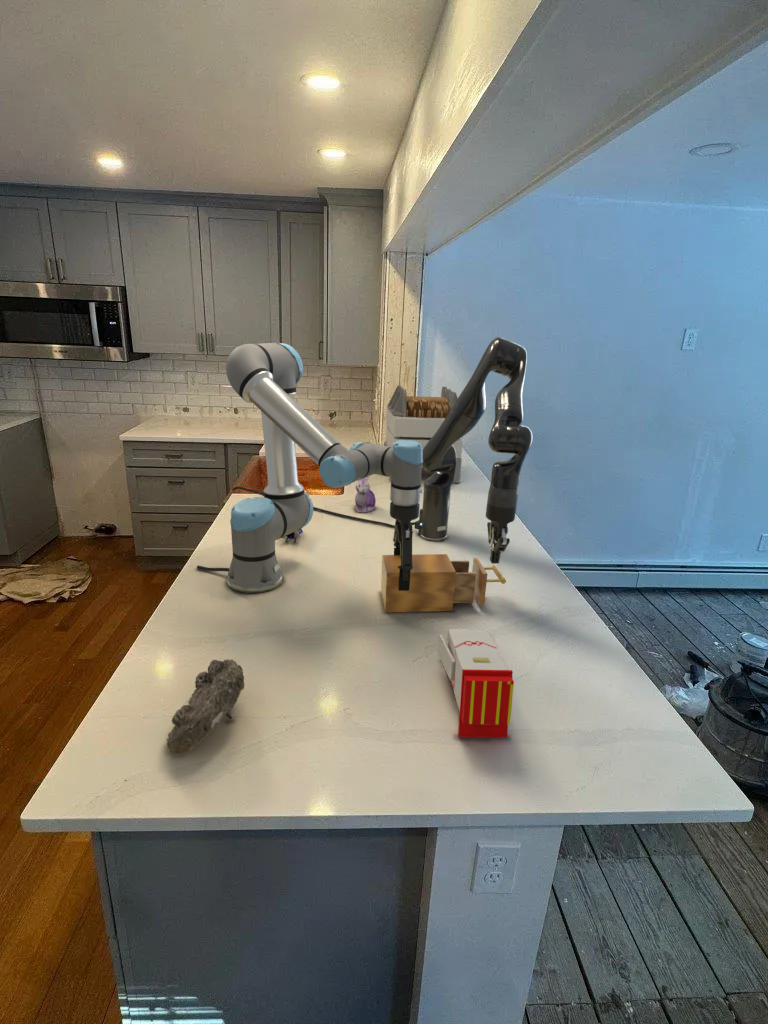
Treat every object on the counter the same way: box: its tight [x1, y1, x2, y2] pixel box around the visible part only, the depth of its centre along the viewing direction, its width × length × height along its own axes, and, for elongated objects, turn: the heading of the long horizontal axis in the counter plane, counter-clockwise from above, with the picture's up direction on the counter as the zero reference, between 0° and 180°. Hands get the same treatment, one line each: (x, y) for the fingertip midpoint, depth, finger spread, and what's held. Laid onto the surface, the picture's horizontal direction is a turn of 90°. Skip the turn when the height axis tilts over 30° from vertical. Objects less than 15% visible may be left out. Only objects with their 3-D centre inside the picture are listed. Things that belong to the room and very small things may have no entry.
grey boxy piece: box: [383, 384, 464, 484], centre depth 268 cm, size 34×33×41 cm
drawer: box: [450, 557, 507, 607], centre depth 153 cm, size 22×10×9 cm, turn 96°
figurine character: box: [281, 528, 304, 544], centre depth 192 cm, size 7×8×15 cm
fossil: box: [166, 658, 245, 754], centre depth 106 cm, size 22×10×15 cm
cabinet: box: [380, 553, 456, 613], centre depth 152 cm, size 18×11×12 cm, turn 96°
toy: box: [437, 628, 515, 738], centre depth 117 cm, size 12×13×30 cm
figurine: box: [354, 476, 376, 513], centre depth 220 cm, size 9×10×15 cm
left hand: (400, 579), depth 151 cm, fingers closed on cabinet, 11 cm apart
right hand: (494, 562), depth 153 cm, fingers closed
